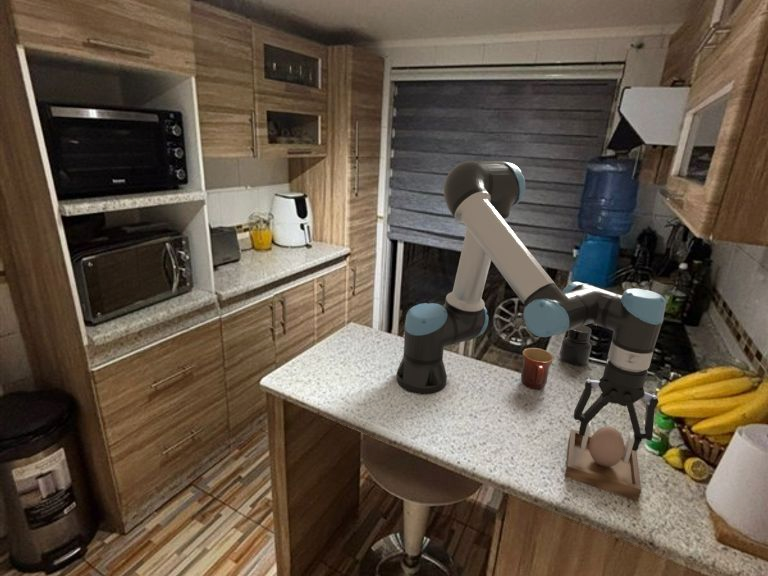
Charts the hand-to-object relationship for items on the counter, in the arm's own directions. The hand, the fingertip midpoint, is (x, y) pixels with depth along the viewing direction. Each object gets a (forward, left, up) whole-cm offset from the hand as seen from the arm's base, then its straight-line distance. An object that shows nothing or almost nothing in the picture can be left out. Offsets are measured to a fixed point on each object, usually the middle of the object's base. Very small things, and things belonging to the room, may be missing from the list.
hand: (603, 453), depth 93 cm
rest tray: (0, 0, -4) cm, 4 cm away
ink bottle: (-8, +52, -4) cm, 53 cm away
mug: (-18, +27, -4) cm, 33 cm away
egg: (0, 0, -3) cm, 3 cm away
